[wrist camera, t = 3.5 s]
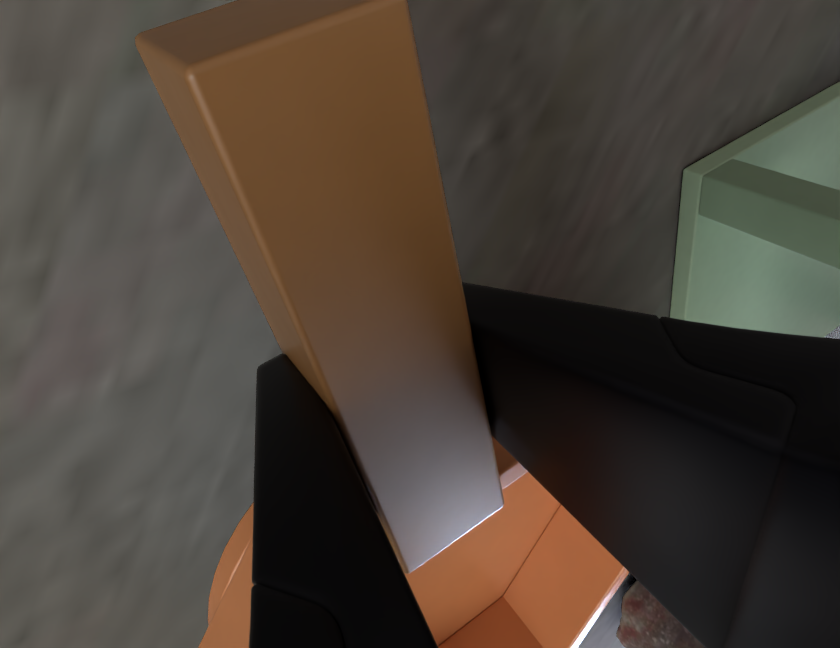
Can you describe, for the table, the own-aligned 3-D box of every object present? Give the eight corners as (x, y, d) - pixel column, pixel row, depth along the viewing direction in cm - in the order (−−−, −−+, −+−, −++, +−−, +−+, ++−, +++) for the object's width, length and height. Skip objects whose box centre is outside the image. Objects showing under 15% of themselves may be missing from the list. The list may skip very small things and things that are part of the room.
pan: (565, 529, 18) (651, 616, 15) (298, 732, 15) (353, 874, 13) (513, -109, 8) (732, -129, 6) (-301, 154, 5) (-536, 326, 3)
